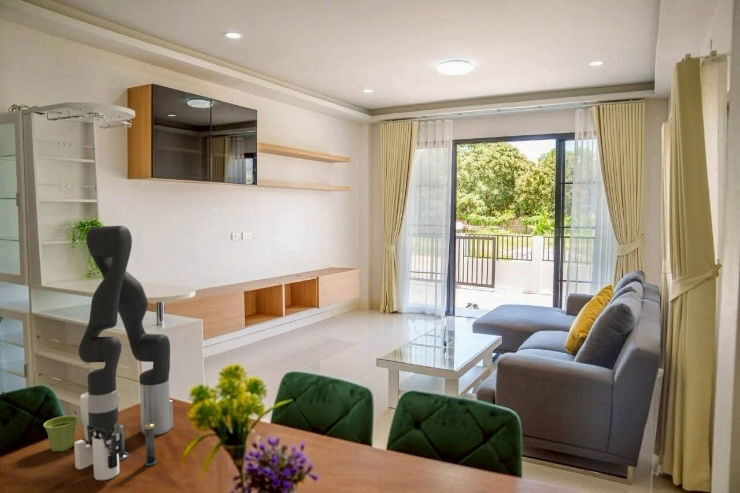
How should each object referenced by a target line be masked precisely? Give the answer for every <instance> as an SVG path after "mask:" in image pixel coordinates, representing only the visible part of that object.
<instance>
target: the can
mask: <svg viewBox="0 0 740 493" xmlns="http://www.w3.org/2000/svg"><path fill="white" fill-rule="evenodd" d="M105 439H106V438H105ZM106 443H107V444H111V440H109V441H106ZM92 446H93V464H92V465H93V477H94V479H95V480H97V481H98V482H99V481H103V482H104V481H109V480H111V479H114V478H116V477H117V476H118V474H120V461H119V453H118V454H117V466H116V467H114V468H112V469H110V468H108V454H107V449H105V448H104V443H103V440H102V439H100V438H99V436H98V437H95V436H94V440H93V442H92ZM117 448H118V446H117ZM110 450H111V447H110Z"/></svg>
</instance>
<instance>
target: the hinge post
mask: <svg viewBox="0 0 740 493" xmlns="http://www.w3.org/2000/svg"><path fill="white" fill-rule="evenodd" d="M124 427H125V425H124V423H117V424H116V423H115V425H114V428H115V432H116V433H119V432H121V433H122V452H121V453H119V462H122V461H125V460H126V459H128V458H129V455H130V454H129V452H127V451H126V447H125V446H126V445H125V443H126V442H125V428H124Z"/></svg>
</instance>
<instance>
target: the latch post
mask: <svg viewBox="0 0 740 493" xmlns="http://www.w3.org/2000/svg"><path fill="white" fill-rule="evenodd" d="M154 427H155V424H154V423H148V424H145V425H144V429H145V435H144V436H145V452H146V453H145V457H146V460H145V461H144V466H145V467H154V466H156V465H157V464H158V462H159V461H158V460H159V459H157V458H156V447H155V446H156V445H155V435H154Z"/></svg>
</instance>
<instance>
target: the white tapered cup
mask: <svg viewBox="0 0 740 493" xmlns="http://www.w3.org/2000/svg"><path fill="white" fill-rule="evenodd" d="M79 400H80V401H79V403H80V404H79V406H80V407H79V408H80V414H81V420H82V426H83V427H82V428H83V434H84V441H86V442H88V432H87V425H89V420H88V391H87V392H84V393H82V394H81V395H80V396H79ZM92 439H93V437H92Z"/></svg>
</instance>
